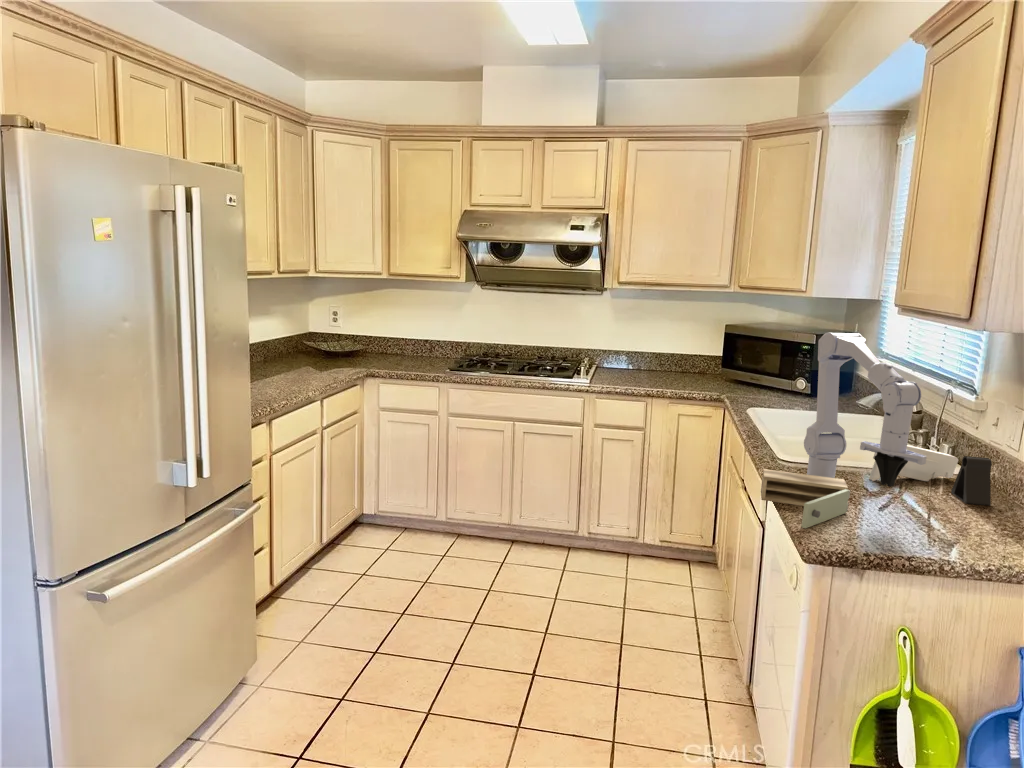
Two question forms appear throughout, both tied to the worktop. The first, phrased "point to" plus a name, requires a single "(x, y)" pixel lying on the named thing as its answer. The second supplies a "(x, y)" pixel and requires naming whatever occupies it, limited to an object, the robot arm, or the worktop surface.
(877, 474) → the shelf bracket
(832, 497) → the cabinet door
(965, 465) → the door stopper
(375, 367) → the worktop surface
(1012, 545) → the worktop surface
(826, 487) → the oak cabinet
